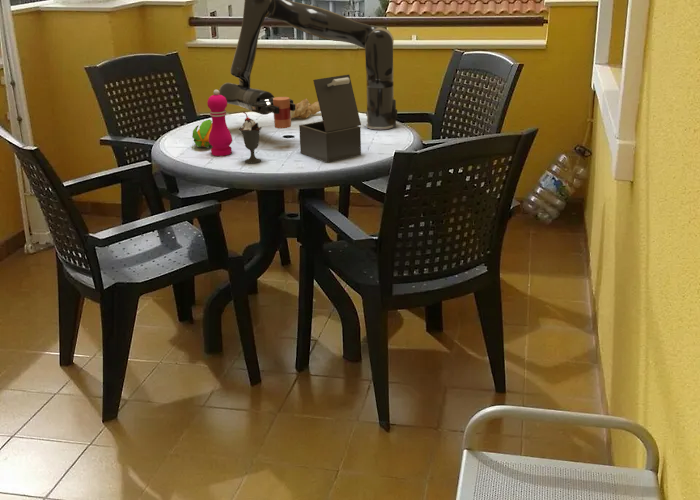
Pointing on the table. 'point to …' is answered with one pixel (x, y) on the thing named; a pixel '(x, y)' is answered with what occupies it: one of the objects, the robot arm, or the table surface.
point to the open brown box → (329, 142)
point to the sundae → (251, 137)
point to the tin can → (282, 112)
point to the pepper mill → (219, 126)
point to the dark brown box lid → (337, 102)
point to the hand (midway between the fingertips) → (286, 109)
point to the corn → (202, 134)
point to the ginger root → (305, 109)
